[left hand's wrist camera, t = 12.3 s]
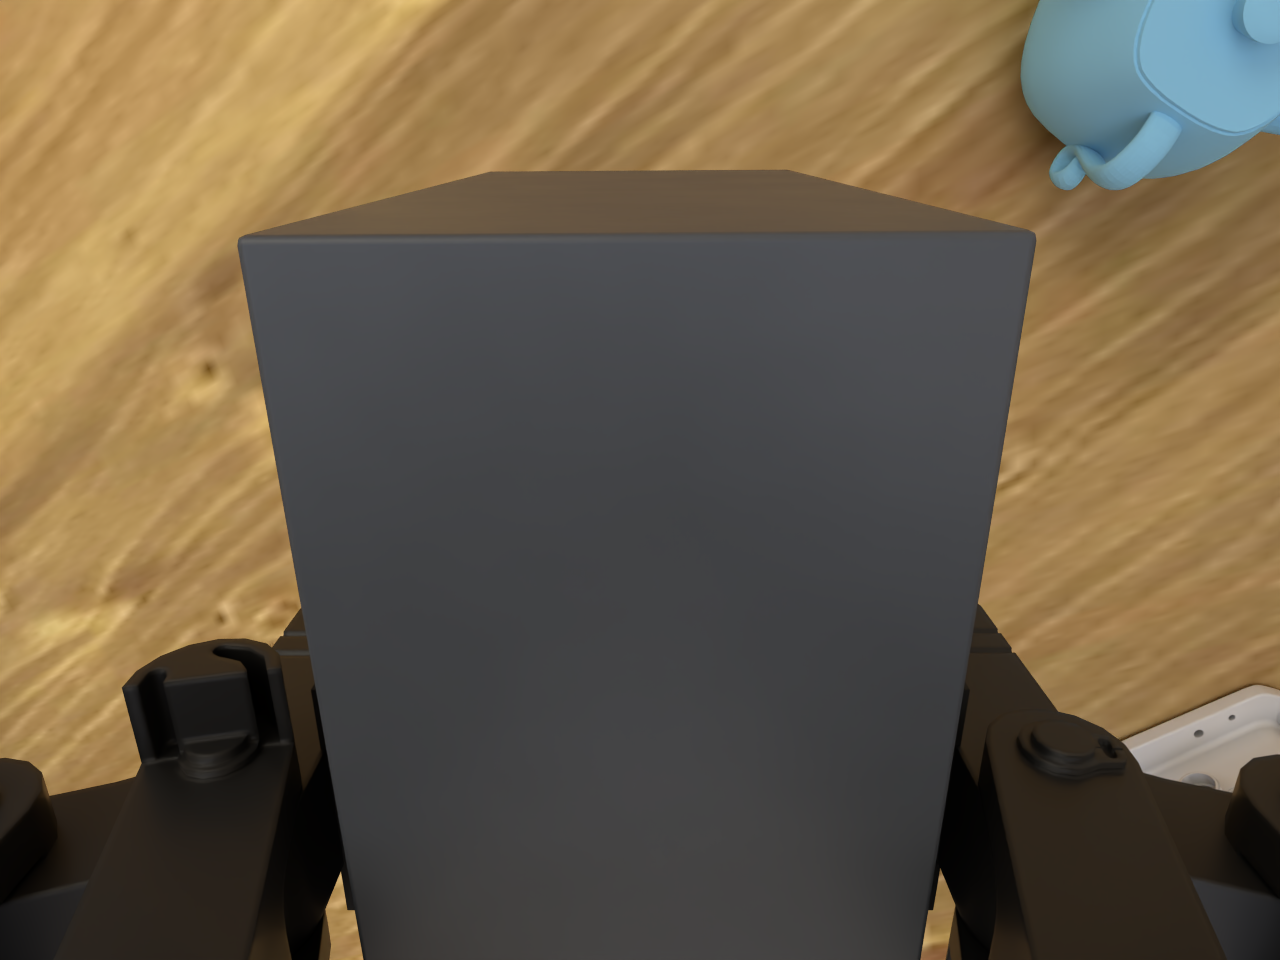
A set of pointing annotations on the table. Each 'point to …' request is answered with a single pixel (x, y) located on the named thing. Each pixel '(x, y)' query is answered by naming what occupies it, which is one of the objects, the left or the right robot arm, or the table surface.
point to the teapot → (1150, 84)
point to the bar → (639, 551)
